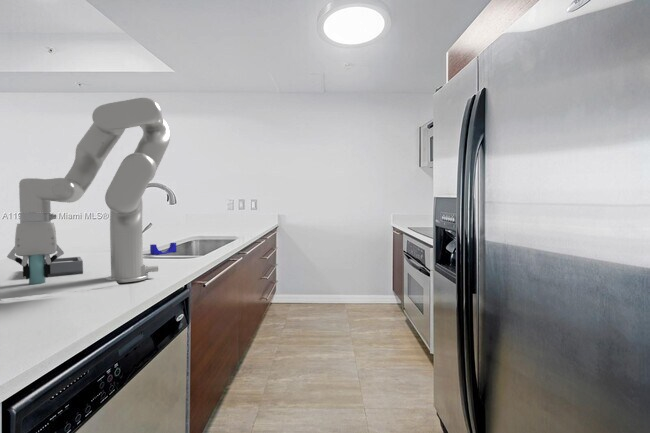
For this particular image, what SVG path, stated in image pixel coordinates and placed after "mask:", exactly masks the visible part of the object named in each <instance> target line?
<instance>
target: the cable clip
mask: <svg viewBox="0 0 650 433" xmlns="http://www.w3.org/2000/svg"><path fill="white" fill-rule="evenodd" d="M149 247H150V248H149V250H150V253H149V254H150V255H152V256H153V255H154V256H157V255H167V254H171V253H177V252H178V251H177V242H170V243H169V247H168V249H167V250H165V251H161V250H159V249H158V246H157V244H150V245H149Z"/></svg>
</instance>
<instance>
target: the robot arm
mask: <svg viewBox="0 0 650 433" xmlns="http://www.w3.org/2000/svg"><path fill="white" fill-rule="evenodd" d="M91 118H92V122H93V123H92V124H90V125H91V126H90V127H89V128H88V130H87V131H86V132H85V133H84V135H83V137H82V138H81V139H80V140H79V142H78V144H77V145H76V148H75V156H74V159H73V160H74V161H73V163H72V165H71V167H70V169H69V171H68V172H67V174H66V175H65V177H57V178H56V177H53V178H46V179H45V178H37V177H35V178H30V177H28V178H22V179H20V181H19V183H18V184H19V185H18V188H19V190H18V192H19V193H18V195H19V197H18V199H19V223H16V228H15V236H14V247H13V248H12V249H11V250H10V252H9V253H8V254H7V256H6V258H7V259H9V260H12V261H14V262H16V263H17V264H19V265H20V266H22V275H23V276H22V277H25V280H29V262H28V256H32V255H45V259H46V262H45V279H46V278H49V277H48V274H50V264H51V263H52V262H53V261H54V260H55V259H56V258H61V257H62V255H64V254H65V252H64V250H63V249H62V247H60V246H59V245H58V242H57V233H56V226H55V224H54V222H52V220H57V214H53V213H51V211H52V208H51V207H52V206H51V202H58V203H69V204H70V203H75V202H77V201H79V200H80V199H81V198H82V197H83V196H84V194H85V193H86V192H87V191H88V189H89V188H90V186H91V185H92V183H93V182H94V180H95V178H96V176H97V174H98V173H99V171H100V169H101V168H102V166H103V163H104V162H105V160H106V158H107V157H108V155H109V154H110V153H111V151H112V149H114V147H115V146H116V144H117V143H118V141H119V140H120V138H121V137H122V136H123V134H124V133H125V131H126V129H129V128H130V129H131V128H134V127H135V128H136V127H140V128H141V129H142V132H143V134H142V137H141V138H140V140H139V142H138V144H137V147H136V148H135V149H134V152H133V153H130V154H128V155H126V157H124V159H123V160H122V161H121V162H120V164H119V167H118V168H117V170H116V172H115V174H114V176H113V177H112V180H111V182H110V183H109V186H108V188H107V190H106V192H105V195H104V201H105V204H106V206H107V207H108V209H109V210H110V211H109V212H110V215H109V216H110V217H109V236H110V237H109V239H110V240H109V242H110V249H109V250H110V276H109V275H108V276H106V277H105V280H107V281H115V282H116V283H117V284H120V283H121V284H122V283H123V284H125V283H133V282H139V281H144V280H147V279H148V278H149V273H155V272H159V266H158V265H153V266H148V265H146V264H144V254H143V253H144V251H143V249H144V248H143V195H144V194H145V192H146V189H147V187H148V185H149V183H150V182H151V181H152V180H153V179H154V177H155V176H156V172H157V170H158V168H159V166H160V164H161V162H162V160H163V157H164V155H165V153H166V151H167V148H168V147H169V145H170V141H171V140H170V139H171V133H170V132H171V131H170V128H169V125H168V123H167V121H166V120H165V119H164V116H163V114H162V109H161V106H160V105H159V104H158V102H156V101H155V100H154V99H152V98H148V97H136V98H131V99H130V98H129V99H125V100H120V101H115V102H114V101H113V102H109V103H105V104H104V103H103V104H101V105H99V106H97V107H96V108H95V109H94V110H93V112H92V114H91ZM50 255H51V256H50ZM18 256H19V257H18ZM21 257H22V258H21Z"/></svg>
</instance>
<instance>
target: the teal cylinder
mask: <svg viewBox="0 0 650 433" xmlns="http://www.w3.org/2000/svg"><path fill="white" fill-rule="evenodd" d="M27 263H28V266H29V279H28V284H29V285H42V284H45V283H46V277H45V255H32V256H28V261H27Z"/></svg>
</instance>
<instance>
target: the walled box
mask: <svg viewBox="0 0 650 433" xmlns="http://www.w3.org/2000/svg"><path fill="white" fill-rule="evenodd" d="M45 262H46V259H45ZM83 267H84V263H83V259H82V258H81V256H73V257H71V256H70V257H58V258H56V259H55V260H54V261H53V262H52V263H51V264H50V274H48V277H47V278H49V277H60V276H71V275H80V274H82V275H83V274H84V268H83Z"/></svg>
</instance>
